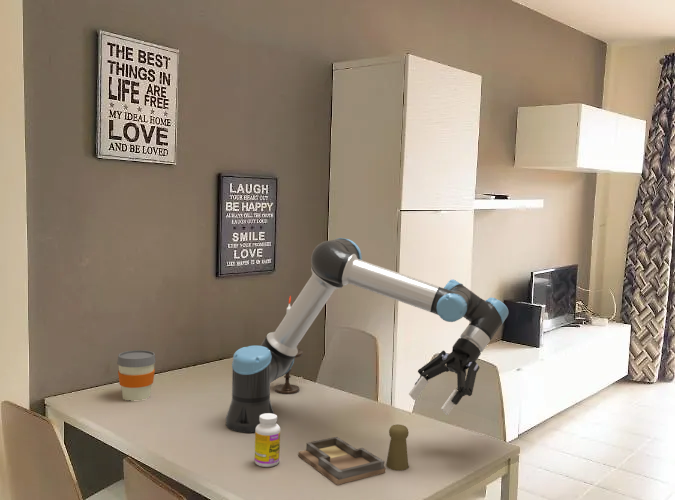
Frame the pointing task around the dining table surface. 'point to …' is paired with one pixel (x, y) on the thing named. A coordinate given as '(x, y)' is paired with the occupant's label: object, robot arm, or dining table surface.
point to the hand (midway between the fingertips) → (427, 404)
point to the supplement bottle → (267, 441)
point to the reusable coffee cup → (136, 373)
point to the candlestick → (288, 375)
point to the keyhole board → (341, 460)
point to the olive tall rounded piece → (398, 448)
